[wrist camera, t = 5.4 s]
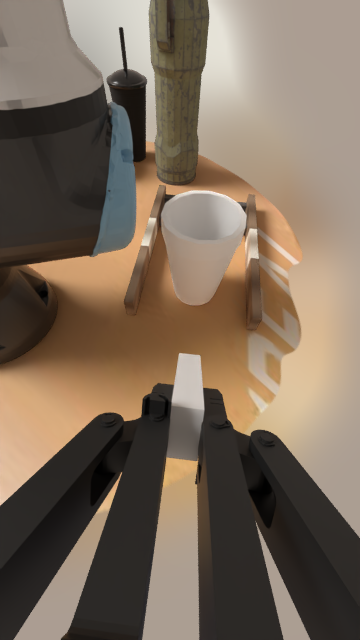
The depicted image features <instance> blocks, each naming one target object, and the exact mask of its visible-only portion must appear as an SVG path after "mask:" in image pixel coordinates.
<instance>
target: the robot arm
mask: <svg viewBox="0 0 360 640" xmlns="http://www.w3.org/2000/svg"><path fill="white" fill-rule="evenodd" d="M135 226H136V179H135V167H134V164H133V142H132V134H131V127H130V122H129V118H128V115H127V112H126V110H125V109H124V108H123V107H122V106H120V105H117V104H116V103H115V102H110V103H108V105H107V100H106V94H105V88H104V83H103V77H102V74H101V72H100V71H99V70H98V69H97V67H96V66H95V65H94V64H93V63H92V62H91V61H90V60H89V59H88V58H87V57H86V55H85V54H84V53H83V52H82V51H81V50H80V49H79V48H78V47H77V45H76V43H75V42H74V40H73V38H72V37H71V34H70V30H69V25H68V21H67V17H66V12H65V8H64V4H63V0H0V364H2V363H5V362H8V361H10V360H13V359H15V358H17V357H19V356H21V355H22V354H24V353H26V352H27V351H29V350H30V349H31V348H33V347H34V346H35V345H36V344H37V343H38V342H40V341H41V339H42V338H43V337H44V336H45V335H46V334H47V332H48V331H49V329H50V328H51V326H52V324H53V322H54V320H55V317H56V313H57V298H56V295H55V293H54V291H53V290H52V288H51V287H50V285H49V283H48V282H47V281H46V279H45V278H44V277H43V276H42V275H40V274H39V273H38V272H36V271H35V270H33V269H32V268H30V267H29V266H28V264H34V263H41V262H48V261H55V260H62V259H68V258H75V257H82V256H90V257H95V256H97V255H98V254H101V253H106V252H111V251H116V250H121V249H123V248H125V247H127V246H128V244H129V243H130V242H131V240H132V239H133V237H134V233H135ZM166 457H169V458H177V459H184V460H192V461H197V460H198V467H197V474H196V481H195V484H197V495H198V496H197V500H198V501H197V502H198V567H199V568H198V570H199V636H200V637H199V640H283V635H282V631H281V627H280V623H279V619H278V614H277V610H276V606H275V602H274V598H273V594H272V589H271V585H270V581H269V576H268V573H267V568H266V564H265V560H264V556H263V551H262V547H261V543H260V539H259V534H258V530H257V526H256V523H257V525H258V527H259V529H260V532H261V534H262V536H263V538H264V540H265V542H266V545H267V547H268V549H269V551H270V553H271V555H272V558H273V560H274V562H275V564H276V566H277V568H278V570H279V573H280V575H281V577H282V579H283V581H284V583H285V585H286V588H287V590H288V592H289V594H290V596H291V599H292V601H293V603H294V605H295V607H296V609H297V611H298V614H299V616H300V618H301V620H302V622H303V624H304V627H305V629H306V631H307V633H308V635H309V637H310V639H311V640H360V538H359V537H358V535H357V534H356V533H355V532H354V530H353V529H352V528H351V527H350V525H349V524H348V523H347V522H346V520H345V519H344V518H343V517H342V515H341V514H340V513H339V512H338V510H337V509H336V508H335V507H334V505H333V504H332V503H331V502H330V501H329V499H328V498H327V497H326V496H325V494H324V493H323V492H322V491H321V489H320V488H319V487H318V486H317V484H316V483H315V482H314V481H313V479H312V478H311V477H310V476H309V475H308V473H307V472H306V471H305V470H304V468H303V467H302V466H301V465H300V463H299V462H298V461H297V460H296V458H295V457H294V456H293V455H292V453H291V452H290V451H289V450H288V448H287V447H286V446H285V445H284V443H283V442H282V441H281V440H280V439H279V438H278V437H277V436H276V435H274V434H273V433H271V432H269V431H265V430H255V431H253V432H252V433H251V436H247V435H245V434H242V433H240V432H238V431H236V430H234V429H233V425H232V423H231V422H230V421H229V420H228V419H227V415H226V411H225V406H224V401H223V397H222V394H221V393H220V392H219V391H218V389H209V388H203V384H202V371H201V357H200V355H193V354H184V353H179V358H178V364H177V370H176V377H175V383H174V385H170V384H161V383H158V384H157V385H155V386H154V387H153V390H152V393H151V394H148V395H146V396H145V397H144V398H143V402H142V415H141V417H140V418H139V419H136V420H132V421H124V420H123V417H122V416H121V415H119V414H117V413H103V414H100V415H98V416H97V417H95V418H94V419H93V420H92V421H91V422H90V423H89V424H88V425H87V426H86V427H85V428H83V429H82V430H81V431H80V432H79V433H78V434H77V435H76V436H75V437H74V438H73V439H72V440H71V441H69V442H68V443H67V444H66V445H65V446H64V447H63V448H62V449H61V450H60V451H59V452H58V453H57V454H56V455H54V456H53V457H52V458H51V459H50V460H49V461H48V462H47V463H46V464H45V465H44V466H43V467H42V468H41V469H39V470H38V471H37V472H36V473H35V474H34V475H33V476H32V477H31V478H30V479H29V480H28V481H27V482H26V483H24V484H23V485H22V486H21V487H20V488H19V489H18V490H17V491H16V492H15V493H14V494H13V495H12V496H11V497H9V498H8V499H7V500H6V501H5V502H4V503H3V504H2V505H1V506H0V640H13V639H14V638H15V636H16V635H17V633H18V632H19V630H20V629H21V627H22V626H23V624H24V622H25V621H26V619H27V618H28V616H29V615H30V613H31V612H32V610H33V609H34V607H35V605H36V604H37V603H38V601H39V599H40V598H41V596H42V595H43V593H44V592H45V590H46V589H47V587H48V586H49V584H50V583H51V581H52V579H53V578H54V576H55V575H56V573H57V572H58V570H59V569H60V567H61V566H62V564H63V563H64V561H65V559H66V558H67V556H68V555H69V553H70V552H71V550H72V549H73V547H74V546H75V544H76V543H77V541H78V539H79V538H80V536H81V535H82V533H83V532H84V530H85V529H86V527H87V525H88V524H89V522H90V521H91V519H92V518H93V516H94V515H95V513H96V512H97V510H98V509H99V507H100V506H101V504H102V503H103V501H104V499H105V498H106V496H107V495H108V493H109V492H110V490H111V489H112V487H113V486H114V484H115V483H116V481H117V480H118V478H119V476H120V474H121V472H122V475H121V478H120V481H119V484H118V487H117V490H116V493H115V496H114V499H113V502H112V505H111V508H110V511H109V514H108V517H107V520H106V523H105V526H104V529H103V531H102V535H101V537H100V541H99V543H98V547H97V549H96V552H95V555H94V559H93V561H92V565H91V567H90V570H89V573H88V576H87V579H86V582H85V585H84V588H83V591H82V594H81V597H80V600H79V603H78V606H77V609H76V612H75V615H74V618H73V621H72V623H71V626H70V628H69V630H68V632H67V633H66V634H65V635H64V636H63V637H62V638H61V640H142V636H143V628H144V621H145V613H146V606H147V599H148V591H149V584H150V576H151V569H152V561H153V554H154V546H155V538H156V531H157V524H158V516H159V509H160V502H161V495H162V487H163V480H164V472H165V464H166ZM255 521H256V522H255Z"/></svg>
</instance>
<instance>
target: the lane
mask: <svg viewBox="0 0 360 640" xmlns="http://www.w3.org/2000/svg"><path fill="white" fill-rule="evenodd" d="M174 196H176V195H167V194H166V186H164V185H159V188H158V191H157V195H156V198H155V201H154V205H153V208H152V211H151V214H150V218H149V221H148V224H147V227H146V231H145V234H144V237H143V241H142V244H141V247H140V250H139V254H138V257H137V260H136V263H135V267H134V270H133V273H132V277H131V280H130V283H129V286H128V290H127V293H126V296H125V299H124V304H125V308H126V311H127V314H132V315H136V311H137V307H138V303H139V300H140V296H141V292H142V288H143V284H144V281H145V277H146V273H147V269H148V266H149V262H150V258H151V254H152V251H153V247H154V243H155V239H156V236H157V232H158V228H159V226H161V213H162V210H163V208H164V205H165V203H166V202H167V201H169V200H170V199H172V198H173V197H174ZM237 203H239V204H240V205H241V207H242V209H243V210H244V212H245V214H246V215H247V217H246V228H245V231H244V234H243V235H245V257H246V313H247V329H251V330H256V328H257V326H258V325H259V323H260V321H261V320H262V309H261V292H260V274H259V257H258V239H257V221H256V204H255V195H251V194H249V195H248V198H247V202H246V203H243V202H237Z"/></svg>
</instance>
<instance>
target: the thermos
mask: <svg viewBox="0 0 360 640" xmlns="http://www.w3.org/2000/svg"><path fill="white" fill-rule="evenodd" d="M208 25H209V8H208V0H151V1H150V8H149V28H150V48H151V63H152V66H153V69H154V72H155V95H156V118H157V135H156V139H155V159H156V165H157V176H158V178H159V179H160V180H161V181H162V182H164V183H166V184H170V185H184V184H187V183H190V182H191V181H193V180H194V178H195V174H196V173H195V170H196V165H197V159H198V136H197V125H198V112H199V99H200V86H201V74H202V71H203V68H204V66H205V59H206V48H207V36H208Z"/></svg>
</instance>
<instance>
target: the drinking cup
mask: <svg viewBox="0 0 360 640" xmlns="http://www.w3.org/2000/svg"><path fill="white" fill-rule="evenodd" d="M119 33H120V40H121V50H122V58H123V67H124V69H121V70H118V71H116V72H114V73H113V74H112V75H110V76H108V77H107V84H108V85H109V87H110V92H111V96H112V101H113V102H115V103H116V104H117V105H120V106H122V107H123V108H124V109H125V110H126V112H127V115H128V118H129V122H130V127H131V134H132V142H133V162H138V161H142V160H144V159H145V157H146V84H147V79H146V77H145V76H143V75H141V74H139V73H138V72H136V71H134V70H130V69H127V60H126V51H125V42H124V33H123V28H122V27H120V28H119Z"/></svg>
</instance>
